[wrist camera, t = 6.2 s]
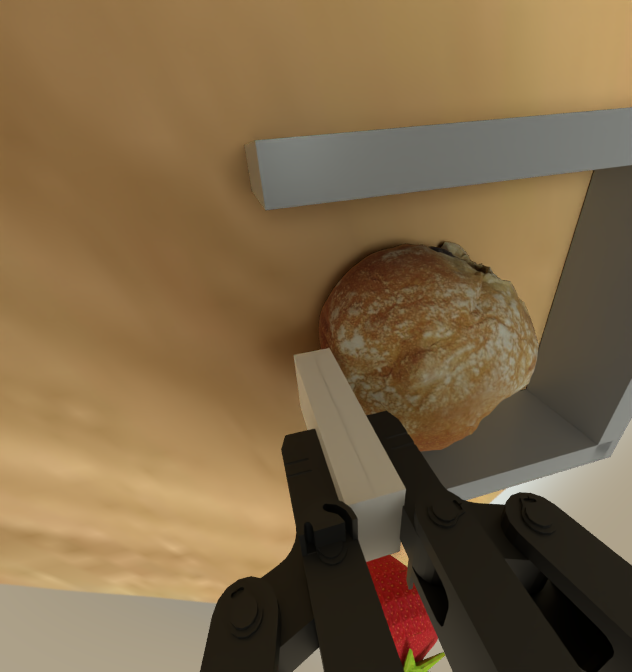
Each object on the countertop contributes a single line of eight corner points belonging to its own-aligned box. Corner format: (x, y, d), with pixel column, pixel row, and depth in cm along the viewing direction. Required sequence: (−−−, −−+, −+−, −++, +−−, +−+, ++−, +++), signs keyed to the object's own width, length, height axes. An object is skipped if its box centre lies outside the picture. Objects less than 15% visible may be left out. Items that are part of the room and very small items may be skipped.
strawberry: (303, 565, 26) (341, 764, 18) (367, 507, 24) (443, 697, 16) (353, 576, 29) (407, 751, 20) (414, 524, 27) (500, 693, 19)
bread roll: (459, 264, 20) (602, 232, 13) (451, 427, 21) (584, 489, 13) (305, 250, 18) (369, 197, 10) (299, 437, 18) (357, 524, 10)
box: (244, 145, 12) (254, 140, 7) (640, 109, 15) (810, 91, 10) (296, 463, 20) (315, 545, 16) (539, 401, 23) (610, 456, 19)
